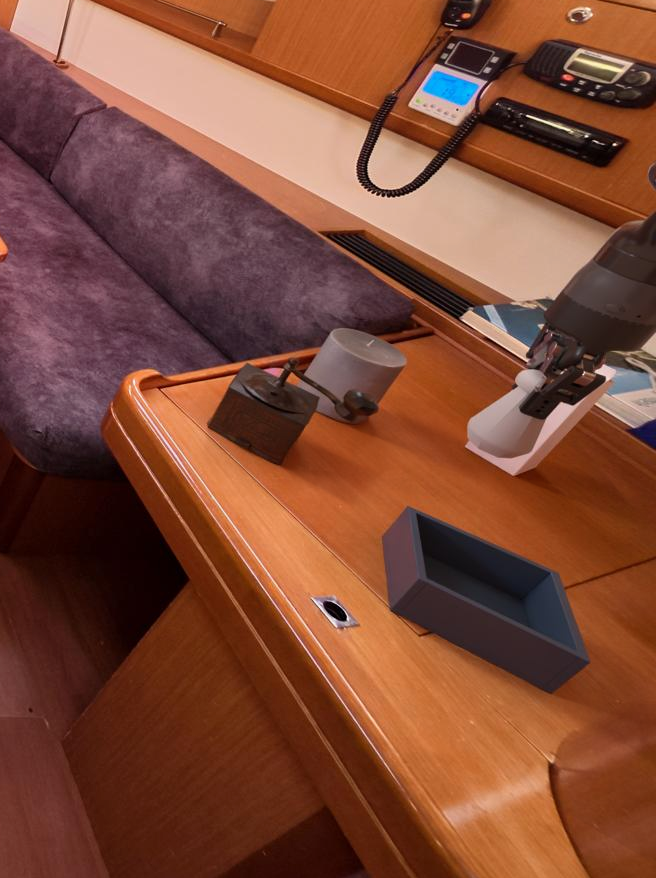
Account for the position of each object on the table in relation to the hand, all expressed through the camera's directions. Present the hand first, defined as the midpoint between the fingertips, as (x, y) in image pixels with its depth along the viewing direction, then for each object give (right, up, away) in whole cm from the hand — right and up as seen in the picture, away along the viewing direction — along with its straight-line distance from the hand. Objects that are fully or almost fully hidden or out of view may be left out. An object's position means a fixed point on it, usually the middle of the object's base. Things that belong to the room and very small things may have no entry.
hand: (526, 404), depth 83 cm
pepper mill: (-14, -15, +22) cm, 30 cm away
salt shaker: (0, -8, +4) cm, 8 cm away
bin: (-11, -26, -1) cm, 29 cm away
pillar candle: (+4, -11, +30) cm, 32 cm away
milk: (+22, -16, +20) cm, 34 cm away
